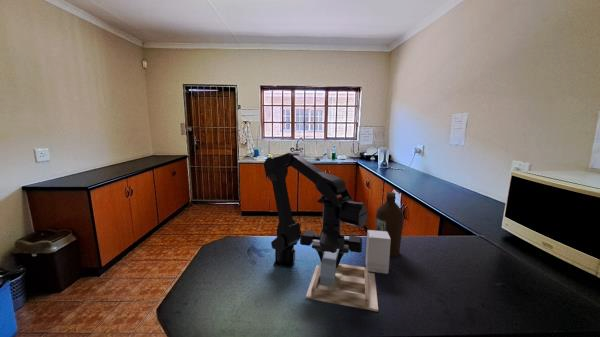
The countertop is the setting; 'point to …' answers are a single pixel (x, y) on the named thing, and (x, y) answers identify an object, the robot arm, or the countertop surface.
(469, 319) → the countertop surface
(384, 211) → the olive oil
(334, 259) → the grey rectangular block
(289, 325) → the countertop surface
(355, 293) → the divided wooden tray
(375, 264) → the supplement box
